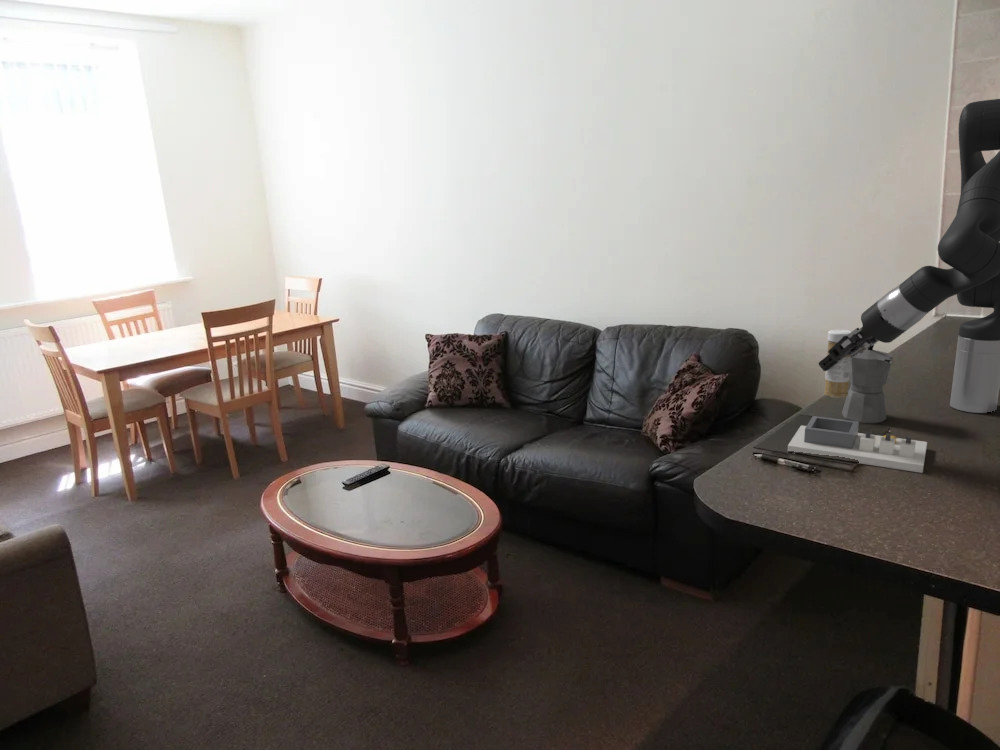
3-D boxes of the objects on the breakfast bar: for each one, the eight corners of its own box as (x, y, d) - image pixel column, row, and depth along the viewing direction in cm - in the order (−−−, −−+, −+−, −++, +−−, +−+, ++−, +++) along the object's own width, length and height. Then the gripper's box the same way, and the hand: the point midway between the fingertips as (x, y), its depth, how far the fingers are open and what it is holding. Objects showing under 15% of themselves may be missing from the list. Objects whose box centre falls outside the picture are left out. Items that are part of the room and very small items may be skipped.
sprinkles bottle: (835, 391, 146) (840, 328, 143) (853, 396, 142) (858, 331, 139) (818, 394, 145) (823, 330, 141) (835, 399, 141) (840, 334, 137)
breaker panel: (800, 431, 155) (802, 409, 154) (926, 448, 142) (929, 425, 141) (787, 452, 144) (788, 428, 142) (922, 472, 131) (925, 447, 130)
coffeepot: (902, 423, 157) (911, 345, 152) (866, 428, 155) (874, 349, 151) (854, 404, 172) (860, 333, 167) (820, 408, 170) (826, 336, 165)
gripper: (899, 293, 137) (834, 345, 149) (863, 302, 128) (797, 356, 141) (925, 323, 134) (857, 373, 146) (890, 334, 126) (821, 386, 138)
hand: (828, 364), depth 143 cm, fingers closed on sprinkles bottle, 4 cm apart
